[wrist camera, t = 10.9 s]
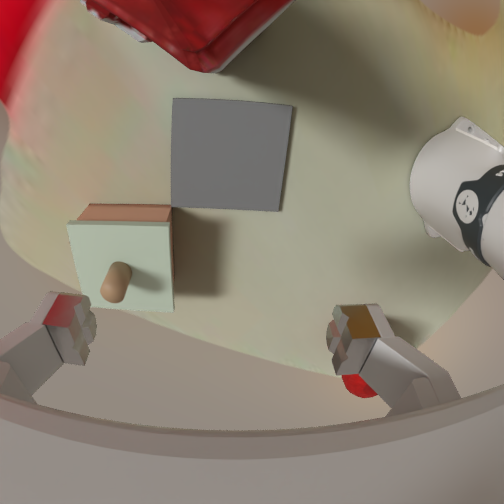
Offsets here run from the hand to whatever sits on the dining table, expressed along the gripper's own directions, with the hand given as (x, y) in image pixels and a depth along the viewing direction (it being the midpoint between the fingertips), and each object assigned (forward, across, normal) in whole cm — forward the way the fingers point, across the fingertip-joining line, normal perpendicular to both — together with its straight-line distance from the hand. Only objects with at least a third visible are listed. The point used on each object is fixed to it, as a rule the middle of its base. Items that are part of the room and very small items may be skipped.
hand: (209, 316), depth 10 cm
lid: (+22, +11, +14) cm, 29 cm away
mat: (+28, -1, +3) cm, 28 cm away
